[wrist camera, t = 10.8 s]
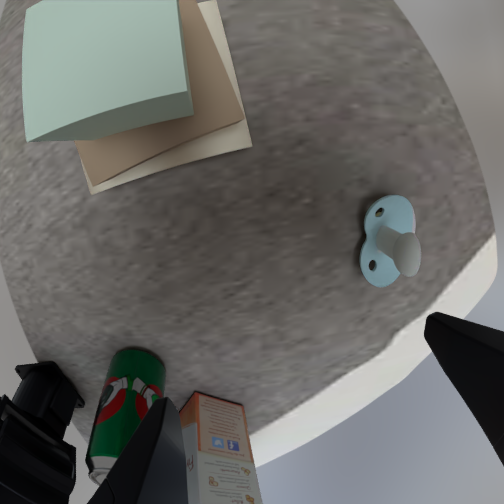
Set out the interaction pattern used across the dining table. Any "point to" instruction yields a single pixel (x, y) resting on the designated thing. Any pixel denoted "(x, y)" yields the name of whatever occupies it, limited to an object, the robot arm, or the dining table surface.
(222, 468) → the cracker box
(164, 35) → the sage block
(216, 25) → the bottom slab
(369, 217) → the pacifier
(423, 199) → the dining table surface
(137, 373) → the soda can
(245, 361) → the dining table surface
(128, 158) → the top slab
